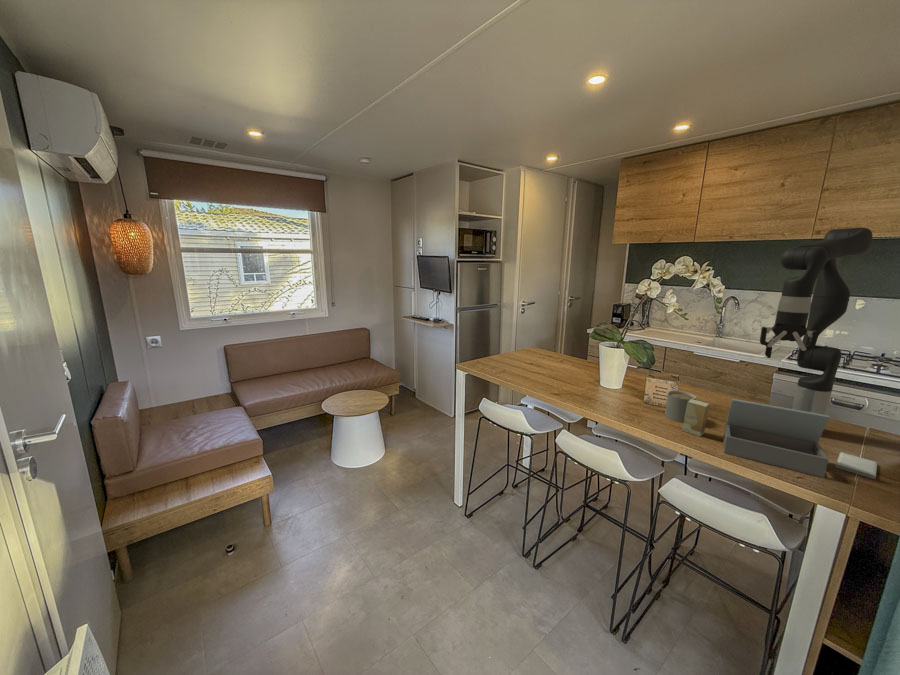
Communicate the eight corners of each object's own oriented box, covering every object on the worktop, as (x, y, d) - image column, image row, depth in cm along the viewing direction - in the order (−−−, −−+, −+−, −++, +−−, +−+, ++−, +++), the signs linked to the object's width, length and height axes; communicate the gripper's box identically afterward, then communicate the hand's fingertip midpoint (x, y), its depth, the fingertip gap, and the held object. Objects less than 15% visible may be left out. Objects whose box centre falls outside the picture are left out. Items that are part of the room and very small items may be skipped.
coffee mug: (686, 424, 141) (690, 401, 139) (660, 416, 149) (663, 393, 147) (700, 416, 149) (703, 394, 147) (674, 408, 156) (677, 387, 154)
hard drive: (876, 476, 105) (877, 461, 113) (836, 464, 112) (840, 451, 119) (874, 481, 106) (876, 466, 113) (834, 468, 112) (839, 455, 120)
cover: (726, 424, 128) (726, 421, 129) (817, 443, 115) (817, 440, 115) (732, 400, 122) (732, 398, 123) (829, 417, 108) (828, 414, 109)
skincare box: (681, 430, 136) (686, 401, 133) (685, 427, 138) (690, 398, 136) (701, 437, 131) (706, 406, 128) (705, 433, 134) (710, 403, 131)
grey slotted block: (723, 439, 130) (725, 423, 128) (814, 460, 116) (818, 443, 115) (724, 452, 120) (727, 436, 119) (824, 477, 106) (828, 459, 105)
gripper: (821, 310, 114) (810, 360, 117) (762, 307, 122) (754, 353, 126) (827, 313, 108) (815, 365, 111) (765, 309, 116) (756, 358, 120)
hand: (783, 359), depth 118 cm, fingers open, 7 cm apart
